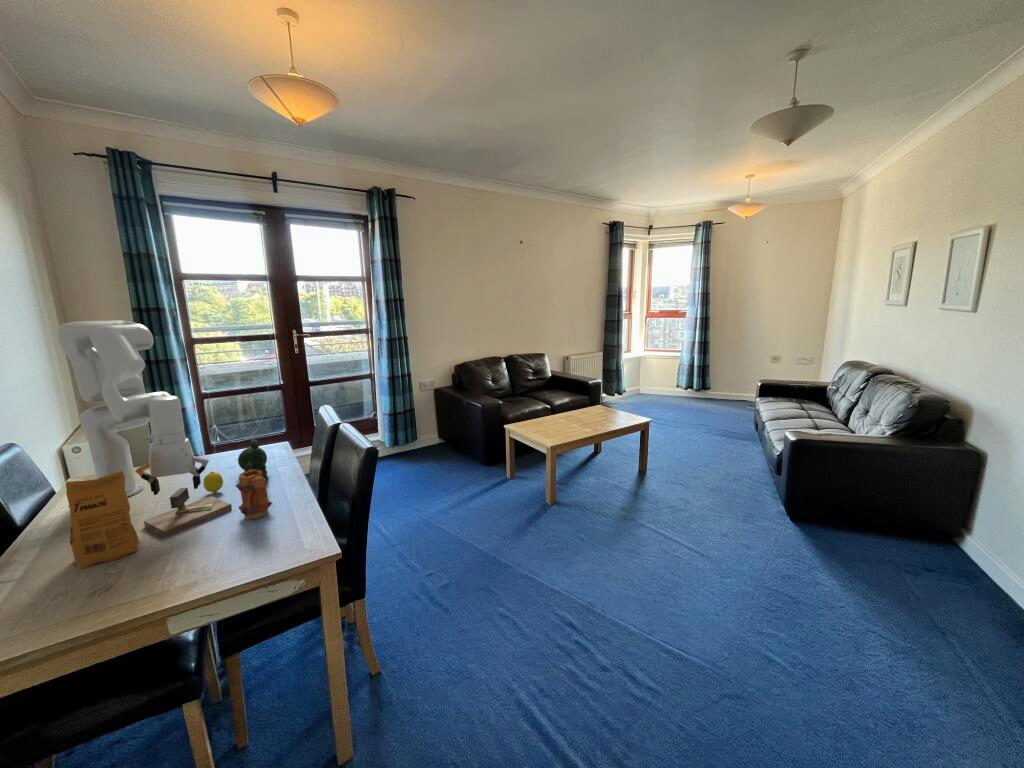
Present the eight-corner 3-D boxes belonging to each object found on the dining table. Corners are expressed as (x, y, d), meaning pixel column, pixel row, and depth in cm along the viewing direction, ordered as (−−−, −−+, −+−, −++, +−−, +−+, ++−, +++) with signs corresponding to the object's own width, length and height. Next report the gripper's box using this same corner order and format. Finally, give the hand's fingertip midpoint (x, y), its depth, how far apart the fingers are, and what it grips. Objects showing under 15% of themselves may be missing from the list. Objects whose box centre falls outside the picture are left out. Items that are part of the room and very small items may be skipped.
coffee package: (77, 554, 108) (59, 477, 104) (140, 537, 116) (126, 465, 112) (71, 573, 101) (52, 490, 96) (139, 553, 108) (124, 476, 104)
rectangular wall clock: (144, 526, 121) (143, 520, 121) (211, 501, 137) (210, 495, 137) (164, 537, 116) (163, 530, 115) (231, 509, 132) (231, 503, 131)
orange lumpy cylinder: (237, 514, 128) (231, 470, 125) (266, 505, 134) (260, 462, 131) (251, 532, 119) (244, 484, 116) (281, 521, 125) (276, 475, 122)
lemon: (214, 497, 140) (211, 475, 138) (201, 495, 141) (197, 474, 140) (228, 490, 145) (225, 469, 144) (215, 488, 146) (212, 467, 145)
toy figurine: (276, 490, 149) (265, 463, 168) (271, 442, 144) (260, 420, 163) (246, 497, 143) (237, 469, 162) (239, 448, 138) (232, 425, 157)
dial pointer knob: (171, 517, 123) (168, 497, 121) (181, 507, 129) (178, 488, 127) (207, 512, 125) (204, 493, 124) (216, 503, 131) (213, 484, 130)
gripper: (126, 445, 114) (136, 501, 118) (202, 437, 122) (209, 489, 126) (135, 437, 121) (144, 490, 124) (207, 430, 129) (213, 480, 132)
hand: (177, 490), depth 125 cm, fingers open, 9 cm apart
